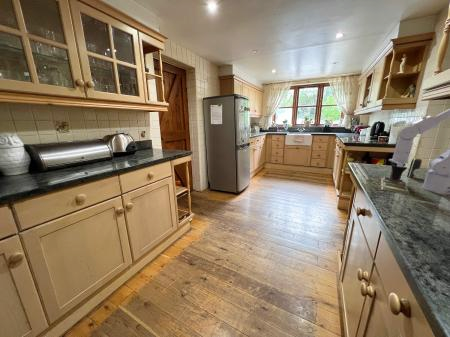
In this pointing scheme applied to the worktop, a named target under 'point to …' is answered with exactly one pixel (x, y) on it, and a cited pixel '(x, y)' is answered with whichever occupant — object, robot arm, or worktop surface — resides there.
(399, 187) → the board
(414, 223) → the worktop surface
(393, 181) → the plug
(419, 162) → the battery charger
